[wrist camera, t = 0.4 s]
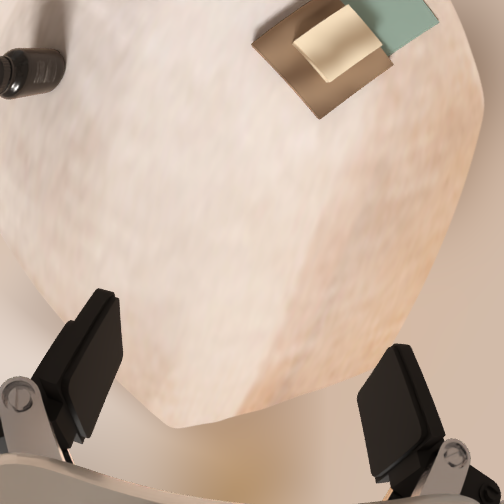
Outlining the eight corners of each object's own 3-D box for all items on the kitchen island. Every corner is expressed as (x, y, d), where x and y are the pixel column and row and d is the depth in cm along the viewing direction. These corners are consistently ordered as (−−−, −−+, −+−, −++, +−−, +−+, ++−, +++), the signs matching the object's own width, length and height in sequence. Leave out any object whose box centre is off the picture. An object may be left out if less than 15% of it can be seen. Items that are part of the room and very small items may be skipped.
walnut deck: (251, 46, 32) (251, 44, 31) (326, -7, 28) (329, -12, 27) (317, 117, 36) (319, 119, 35) (388, 65, 32) (393, 64, 31)
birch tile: (292, 44, 30) (294, 41, 28) (343, 8, 28) (348, 4, 26) (326, 82, 32) (330, 82, 30) (376, 47, 30) (382, 44, 28)
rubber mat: (333, -3, 29) (334, -3, 28) (390, -35, 25) (391, -36, 24) (384, 58, 32) (386, 57, 32) (438, 22, 28) (439, 22, 28)
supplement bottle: (48, 40, 31) (-7, 38, 20) (74, 63, 33) (19, 64, 22) (25, 78, 33) (-30, 86, 23) (49, 102, 35) (-7, 114, 25)
